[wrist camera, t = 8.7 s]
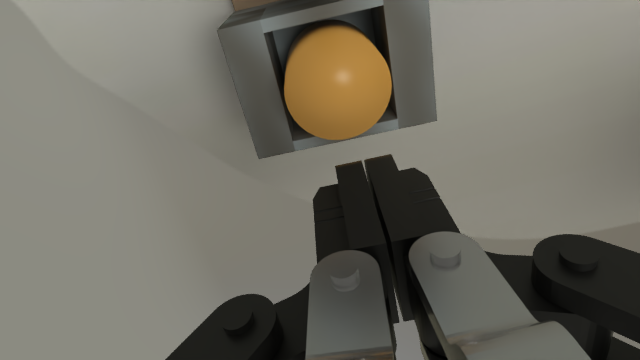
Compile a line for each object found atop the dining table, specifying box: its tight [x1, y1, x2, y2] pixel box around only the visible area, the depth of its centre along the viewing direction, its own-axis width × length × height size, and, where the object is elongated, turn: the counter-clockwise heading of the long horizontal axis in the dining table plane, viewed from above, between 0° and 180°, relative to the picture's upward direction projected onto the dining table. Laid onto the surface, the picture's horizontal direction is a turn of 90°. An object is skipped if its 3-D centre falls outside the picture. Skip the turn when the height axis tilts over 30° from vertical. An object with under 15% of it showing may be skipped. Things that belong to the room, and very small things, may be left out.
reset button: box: [284, 20, 392, 140], centre depth 21 cm, size 5×5×4 cm
